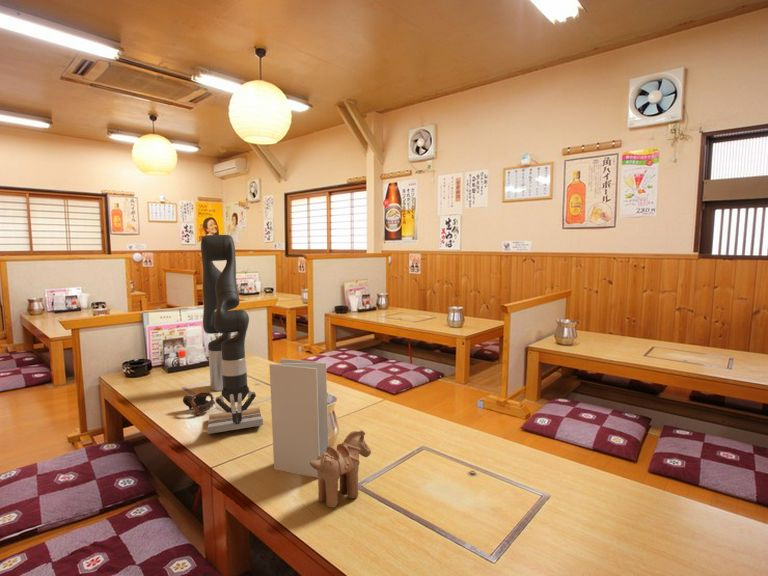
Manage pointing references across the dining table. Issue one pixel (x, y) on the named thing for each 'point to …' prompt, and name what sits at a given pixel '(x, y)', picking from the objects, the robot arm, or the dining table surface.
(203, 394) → the pottery mug
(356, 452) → the figurine
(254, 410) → the glossy brown slab
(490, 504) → the dining table surface
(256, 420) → the slate plank
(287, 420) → the brochure
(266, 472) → the dining table surface
